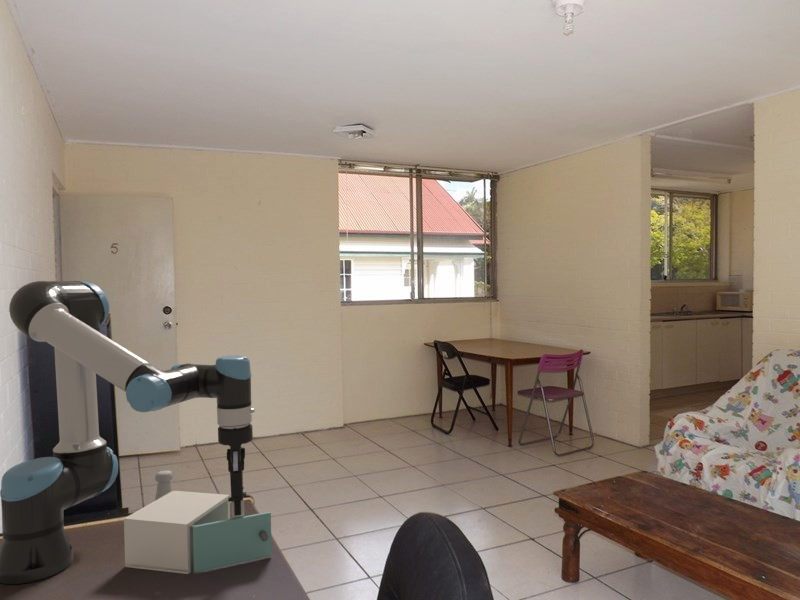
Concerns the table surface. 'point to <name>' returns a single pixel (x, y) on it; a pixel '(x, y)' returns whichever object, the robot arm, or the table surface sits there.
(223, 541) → the side door
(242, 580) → the table surface
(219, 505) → the storage box
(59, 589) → the table surface
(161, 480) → the salt shaker
